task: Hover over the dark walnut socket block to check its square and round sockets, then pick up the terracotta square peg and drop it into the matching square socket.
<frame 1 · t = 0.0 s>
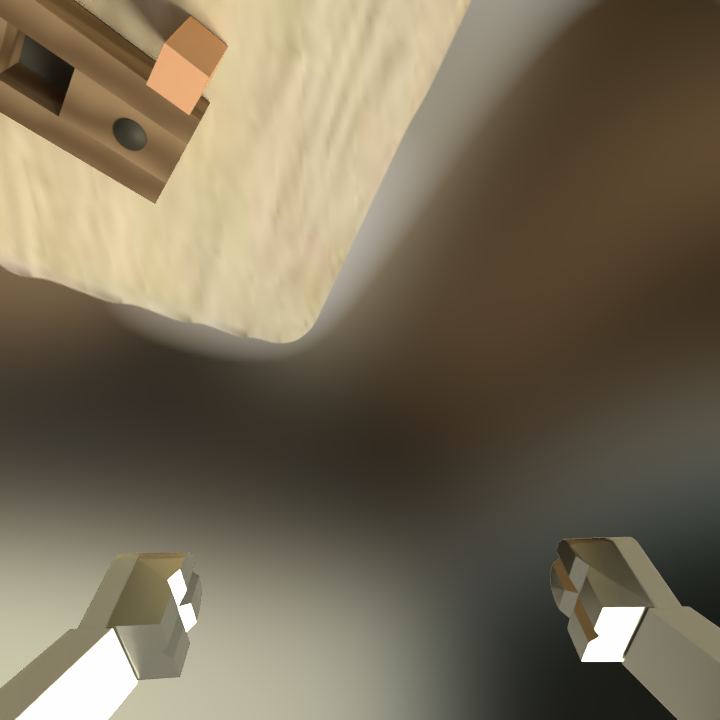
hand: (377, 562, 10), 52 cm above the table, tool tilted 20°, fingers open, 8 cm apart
socket block: (97, 85, 48), on the table
square peg: (200, 49, 46), on the table
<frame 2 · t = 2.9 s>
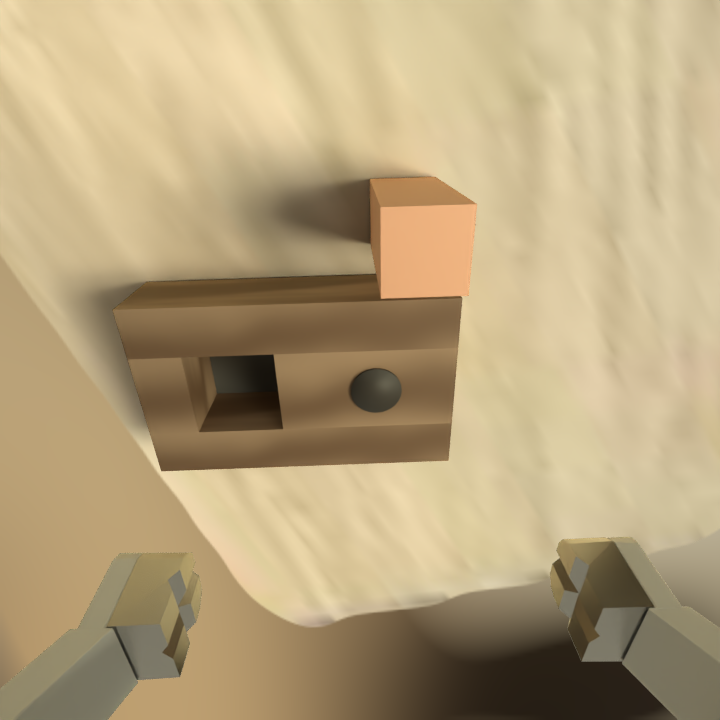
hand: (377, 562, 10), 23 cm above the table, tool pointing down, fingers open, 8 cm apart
socket block: (304, 356, 33), on the table
square peg: (401, 211, 28), on the table
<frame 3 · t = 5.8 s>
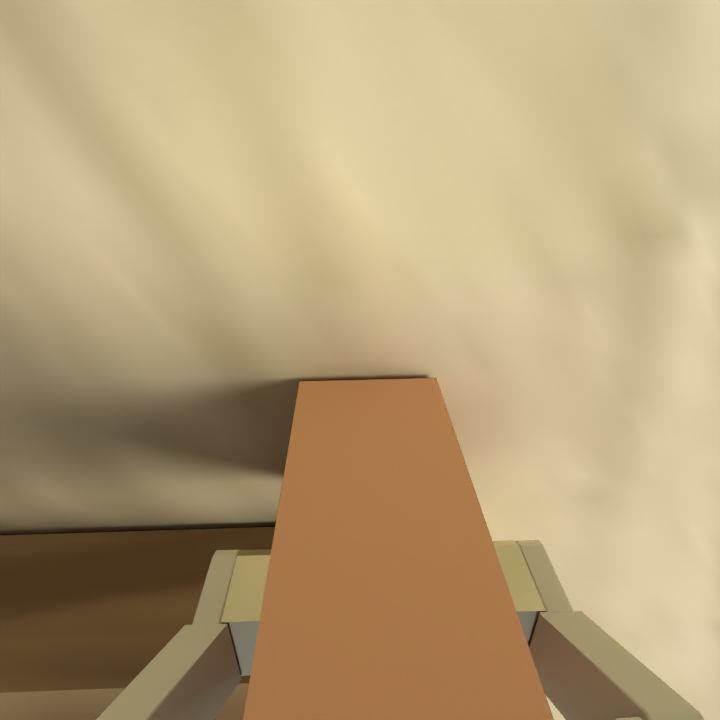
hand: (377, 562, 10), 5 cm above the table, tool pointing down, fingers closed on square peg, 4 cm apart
socket block: (200, 630, 19), on the table
square peg: (368, 434, 14), on the table, touching gripper
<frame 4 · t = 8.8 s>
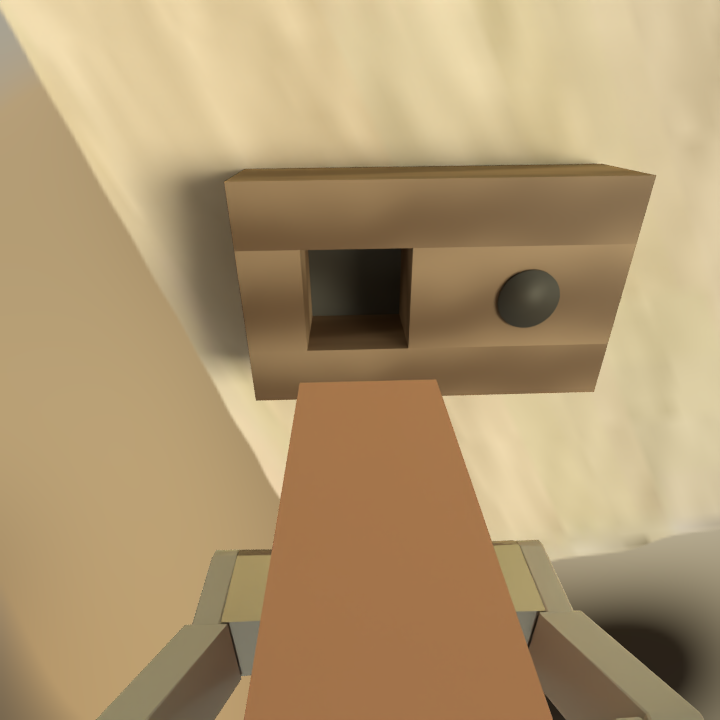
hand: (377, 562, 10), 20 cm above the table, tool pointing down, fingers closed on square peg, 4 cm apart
socket block: (419, 270, 28), on the table
square peg: (368, 435, 14), point 16 cm above the table, touching gripper
when the fingers open (7 cm above the table, at t = 12.0 s): square peg drops 2 cm, resting on socket block.
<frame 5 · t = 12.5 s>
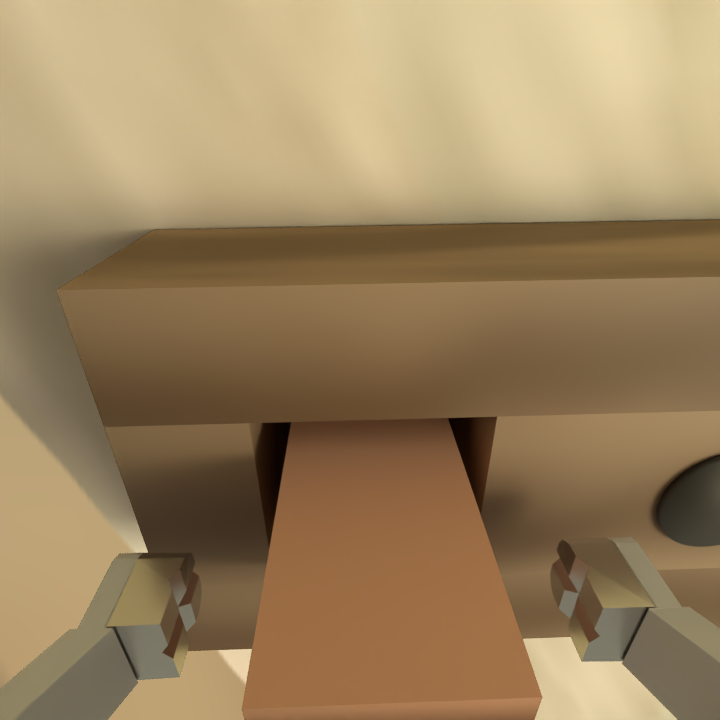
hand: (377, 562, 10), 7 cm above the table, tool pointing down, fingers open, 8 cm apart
socket block: (478, 396, 16), on the table
square peg: (364, 403, 16), resting on socket block
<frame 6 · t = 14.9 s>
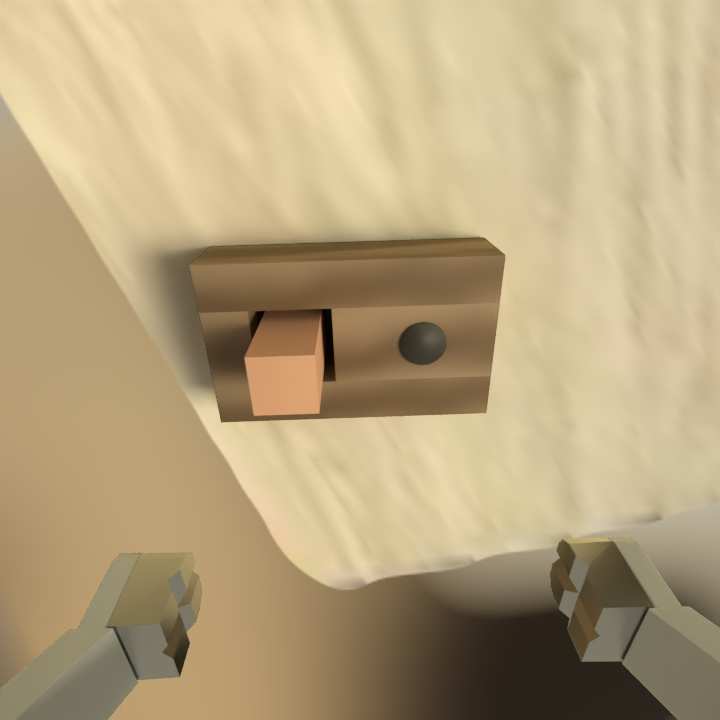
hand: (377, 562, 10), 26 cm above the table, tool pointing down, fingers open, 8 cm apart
socket block: (350, 318, 36), on the table
square peg: (299, 321, 36), resting on socket block
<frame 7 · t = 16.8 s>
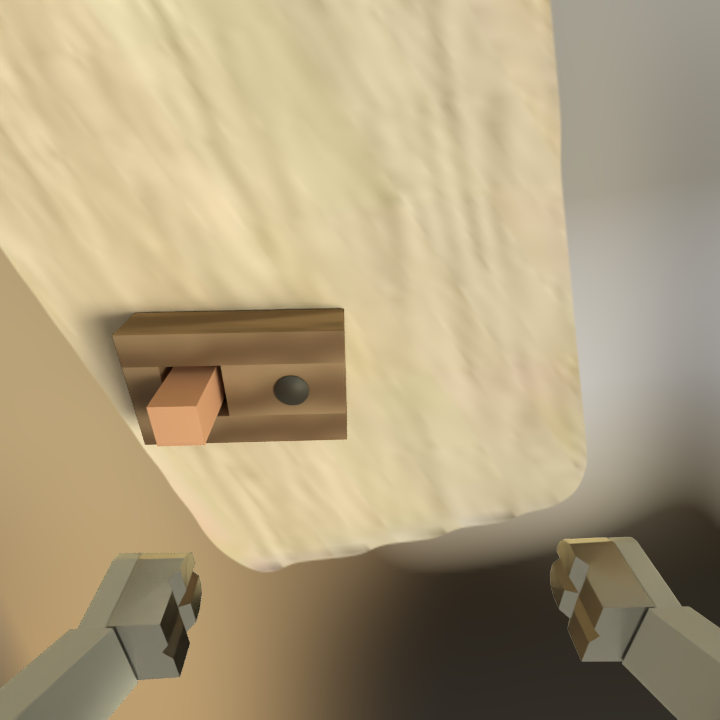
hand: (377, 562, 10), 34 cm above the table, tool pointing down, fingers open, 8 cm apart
socket block: (248, 364, 46), on the table
square peg: (208, 366, 46), resting on socket block
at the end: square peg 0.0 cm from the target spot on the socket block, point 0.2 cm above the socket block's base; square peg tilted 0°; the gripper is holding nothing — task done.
